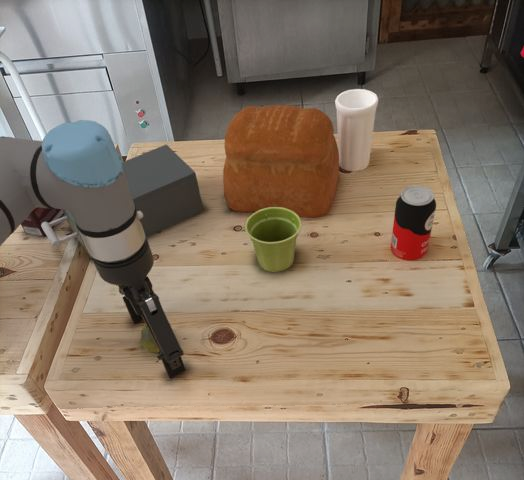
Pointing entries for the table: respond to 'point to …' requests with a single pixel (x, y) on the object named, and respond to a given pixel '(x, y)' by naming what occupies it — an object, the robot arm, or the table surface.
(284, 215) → the plant pot
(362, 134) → the cup
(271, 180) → the bread
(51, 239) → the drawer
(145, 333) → the green rock
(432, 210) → the beverage can
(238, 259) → the table surface
